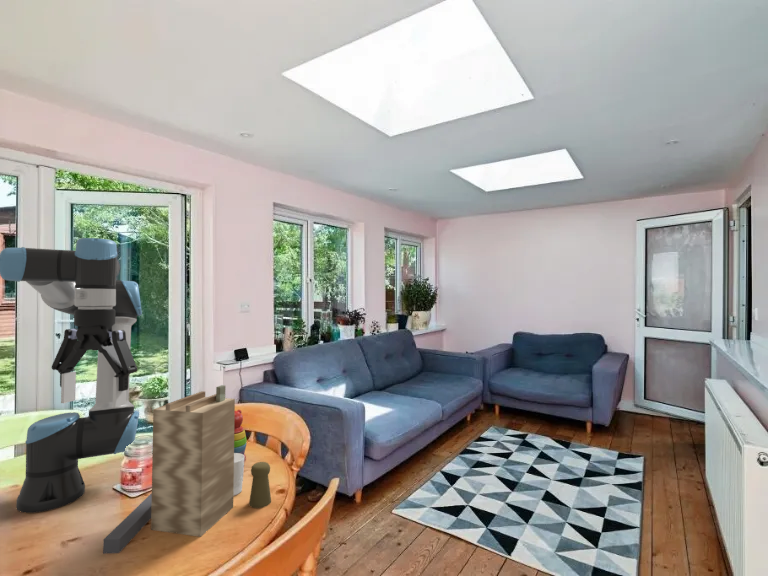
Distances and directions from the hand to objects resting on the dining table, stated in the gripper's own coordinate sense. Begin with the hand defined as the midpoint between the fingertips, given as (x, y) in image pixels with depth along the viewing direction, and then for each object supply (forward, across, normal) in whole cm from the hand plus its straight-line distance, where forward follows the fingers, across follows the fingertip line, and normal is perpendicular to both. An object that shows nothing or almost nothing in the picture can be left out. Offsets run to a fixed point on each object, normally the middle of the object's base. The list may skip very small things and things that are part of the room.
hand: (93, 403), depth 89 cm
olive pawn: (+35, +24, +31) cm, 52 cm away
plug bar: (+35, -1, +15) cm, 38 cm away
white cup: (+35, +12, +35) cm, 51 cm away
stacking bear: (+35, 0, +55) cm, 65 cm away
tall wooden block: (+35, +11, +20) cm, 41 cm away
